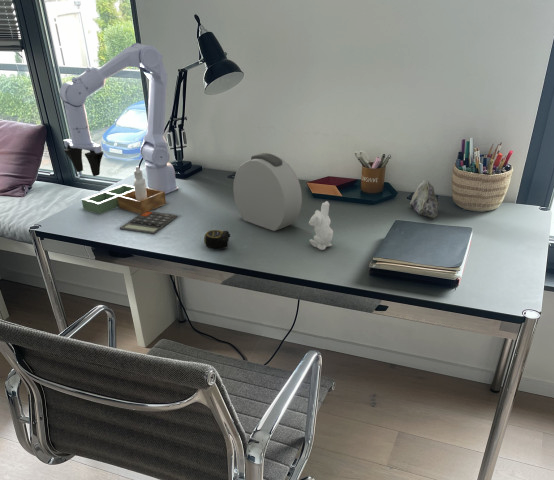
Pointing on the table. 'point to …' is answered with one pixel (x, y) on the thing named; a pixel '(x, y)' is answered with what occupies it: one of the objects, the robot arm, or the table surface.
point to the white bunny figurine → (321, 227)
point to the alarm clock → (267, 192)
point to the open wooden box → (142, 201)
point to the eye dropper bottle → (139, 185)
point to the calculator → (149, 222)
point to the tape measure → (216, 239)
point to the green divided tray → (105, 199)
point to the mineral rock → (425, 200)
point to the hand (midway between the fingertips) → (88, 173)
